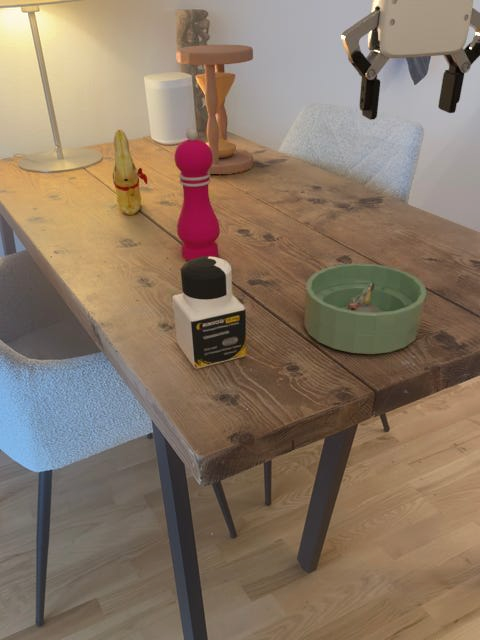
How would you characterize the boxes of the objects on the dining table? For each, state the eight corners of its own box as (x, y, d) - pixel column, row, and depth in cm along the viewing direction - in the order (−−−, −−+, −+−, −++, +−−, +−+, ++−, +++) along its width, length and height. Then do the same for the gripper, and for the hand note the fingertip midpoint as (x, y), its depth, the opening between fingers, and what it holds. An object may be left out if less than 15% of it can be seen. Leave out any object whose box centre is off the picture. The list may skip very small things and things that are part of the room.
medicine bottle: (195, 370, 70) (187, 280, 63) (176, 344, 75) (167, 257, 68) (247, 357, 72) (245, 268, 65) (225, 332, 77) (221, 247, 70)
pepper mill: (191, 267, 95) (181, 136, 82) (172, 253, 100) (160, 127, 87) (228, 257, 98) (224, 129, 85) (208, 244, 102) (200, 121, 90)
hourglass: (201, 155, 152) (194, 44, 137) (262, 159, 148) (262, 44, 132) (173, 172, 140) (162, 52, 124) (239, 178, 135) (237, 53, 119)
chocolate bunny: (118, 218, 114) (105, 137, 105) (117, 202, 123) (105, 125, 113) (152, 216, 115) (142, 135, 106) (149, 199, 124) (139, 123, 114)
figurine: (379, 334, 75) (385, 292, 71) (346, 332, 76) (350, 291, 72) (376, 315, 79) (382, 275, 75) (345, 314, 80) (349, 274, 76)
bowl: (393, 297, 84) (399, 259, 81) (437, 350, 73) (446, 308, 69) (292, 307, 83) (294, 268, 79) (321, 363, 71) (324, 320, 67)
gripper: (495, -80, 60) (461, 103, 71) (338, -74, 58) (328, 113, 69) (536, -86, 54) (492, 114, 65) (363, -79, 52) (347, 126, 63)
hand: (407, 114), depth 67 cm, fingers open, 9 cm apart
